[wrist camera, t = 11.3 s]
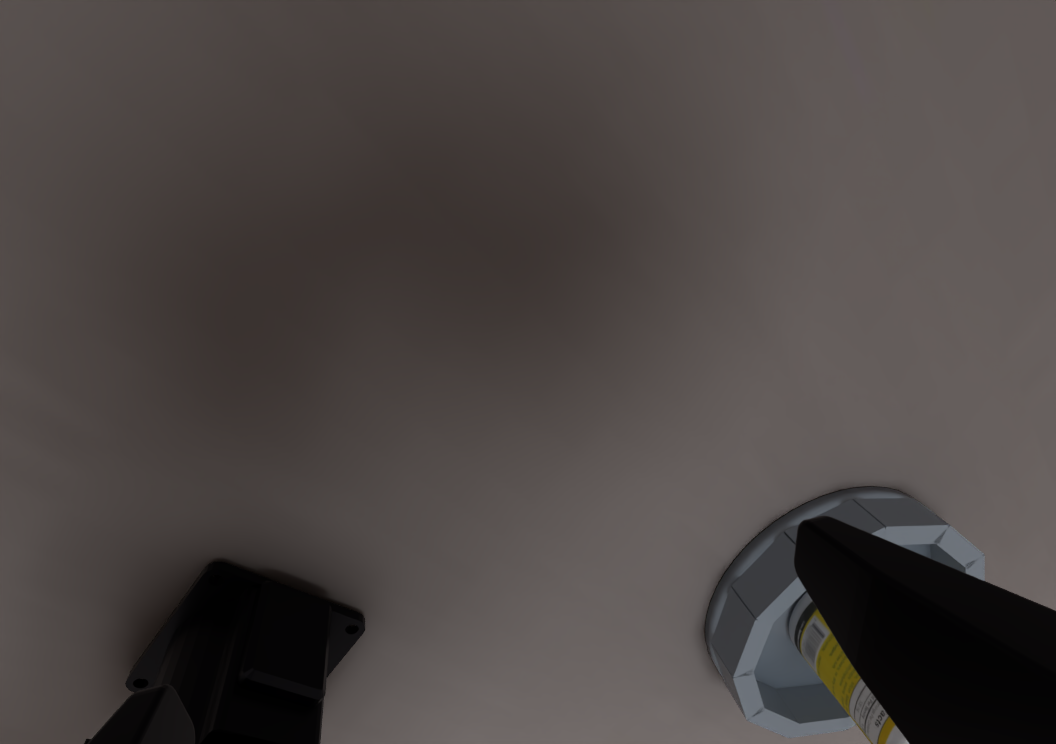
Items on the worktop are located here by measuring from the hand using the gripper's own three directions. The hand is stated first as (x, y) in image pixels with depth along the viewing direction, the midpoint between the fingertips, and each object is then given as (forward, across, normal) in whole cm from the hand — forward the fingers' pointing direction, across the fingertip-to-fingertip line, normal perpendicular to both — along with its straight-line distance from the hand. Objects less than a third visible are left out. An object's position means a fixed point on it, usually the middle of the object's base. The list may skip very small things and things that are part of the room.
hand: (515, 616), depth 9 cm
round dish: (+13, -17, +18) cm, 28 cm away
